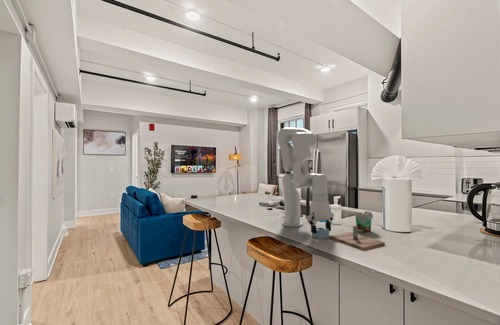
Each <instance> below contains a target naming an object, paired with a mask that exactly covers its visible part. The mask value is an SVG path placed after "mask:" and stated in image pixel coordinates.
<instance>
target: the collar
mask: <svg viewBox="0 0 500 325" xmlns="http://www.w3.org/2000/svg"><path fill="white" fill-rule="evenodd" d="M329 236H330V231H329V229H326V227H322V226H319V227H318V226H316V234H314V233H311V237H314V238H316V239H318V240H322V239H329Z"/></svg>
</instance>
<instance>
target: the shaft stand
mask: <svg viewBox="0 0 500 325" xmlns="http://www.w3.org/2000/svg"><path fill="white" fill-rule="evenodd" d="M358 233H359V232H358V226H356V225H353V226H352V232H351V231H347V232H342V233H337V234H331V235H330V234H329V237H328V239H331V240H333V241H336V242H338V243H342V244H344V245H347V246H350V247H353V248H356V249H359V250H361V251H366V250H371V249H374V248H378V247H383V246H385V244H386V243H385V242H386V241H382V240H378V239H374V238H371V237H368V236H364V235H361V234H358Z"/></svg>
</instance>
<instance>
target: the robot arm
mask: <svg viewBox="0 0 500 325" xmlns="http://www.w3.org/2000/svg"><path fill="white" fill-rule="evenodd" d="M290 142H291V143H290ZM277 143H278V147H279V149H280V155H281V162H282V168H283V170H284V171H285V172H288V173H286V174H284V175H283V177H282V179H281V181H282V188H283V198H284V200H283V201H284V204H283V205H284V208H283V209H284V215H283V216H282V219H283V221H282V222H281V224H282V226H286V227H291V228H292V227H293V228H294V227H295V228H296V227H302V226H303V224H304V223H303V222H302V221H301V199H300V198H301V197H300V196H301V195H300V193H299V192H298V190H297V189H306V188H307V189H308V188H311V195H312V196H311V197H312V200H311V202H310V206H309V214H308V215H307V216H306V220H307V223H309V225H310V232H311V234H312V233H314V234H316V228H317V225H316V224H317V222H322V221H325V228H326V229H329V232H332V223H333V220H334V216H335V214H334V213H333V212H331V208H330V206H331V205H330V202H329V195H328V193H329V192H328V176H327V174H325V173H310V169H309V163H308V160H310V159H311V158H312V152H311V149H310V147H315V145H316V144H317V138H316V136H315V134H314V133H313V132H311V131H309V130H308V129H306V128H301V127H300V128H299V127H284V128H283V127H282V128H280V129H279V130H278V132H277ZM289 172H291V173H289Z"/></svg>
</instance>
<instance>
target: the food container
mask: <svg viewBox="0 0 500 325" xmlns="http://www.w3.org/2000/svg"><path fill="white" fill-rule="evenodd" d="M372 213H373V212H371V211H367V210H365V211H364V212H363V213H355V215H354V216H355V226H358V233H361V234H370V233H371V232H372V219H373V217H374V215H373V214H372Z"/></svg>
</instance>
